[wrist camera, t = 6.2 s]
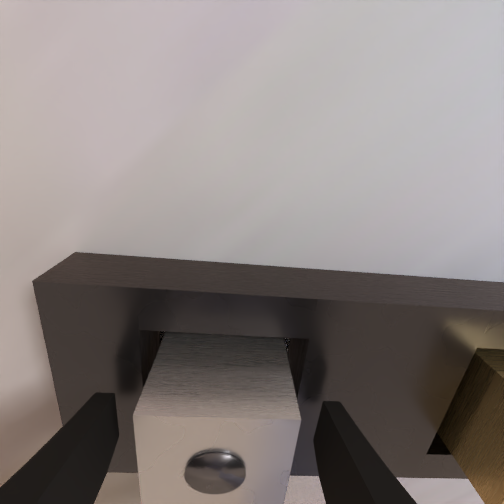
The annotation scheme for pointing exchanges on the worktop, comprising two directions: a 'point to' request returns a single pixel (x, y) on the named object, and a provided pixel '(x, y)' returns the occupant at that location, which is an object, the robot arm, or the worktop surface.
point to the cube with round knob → (216, 421)
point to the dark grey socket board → (277, 325)
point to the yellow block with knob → (479, 424)
